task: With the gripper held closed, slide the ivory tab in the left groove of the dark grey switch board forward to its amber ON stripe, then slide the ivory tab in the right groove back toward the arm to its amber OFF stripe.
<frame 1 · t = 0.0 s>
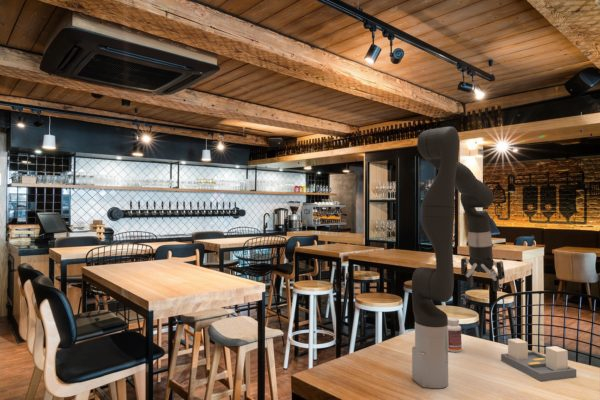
hand: (483, 288, 140), 22 cm above the table, tool pointing down, fingers open, 8 cm apart
switch board: (536, 368, 125), on the table
tab left: (517, 349, 129), point 5 cm above the table, slide at 0.0 cm
tab right: (556, 358, 121), point 5 cm above the table, slide at 0.0 cm
pill bottle: (452, 350, 142), on the table
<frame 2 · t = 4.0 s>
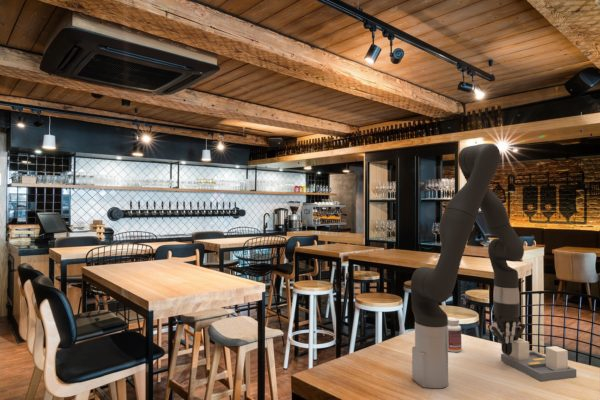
hand: (506, 353, 128), 4 cm above the table, tool pointing down, fingers closed
tab left: (519, 349, 129), point 4 cm above the table, slide at 0.6 cm, touching gripper
everything else where it was.
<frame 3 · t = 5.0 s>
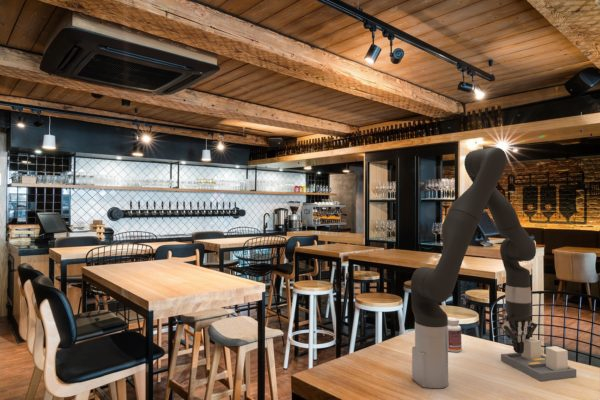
hand: (518, 352, 129), 4 cm above the table, tool pointing down, fingers closed
tab left: (530, 348, 130), point 4 cm above the table, slide at 5.2 cm, touching gripper
everything else where it was.
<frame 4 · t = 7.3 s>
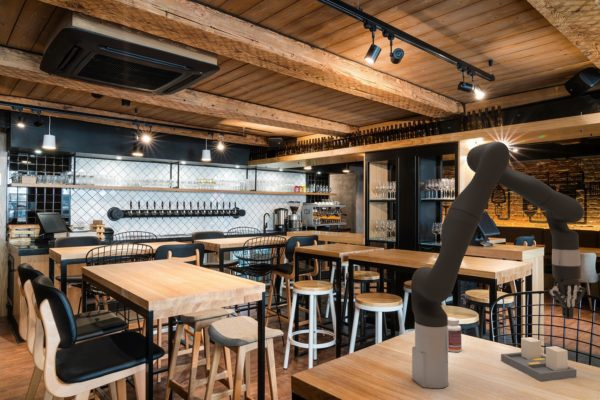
hand: (568, 318, 124), 16 cm above the table, tool pointing down, fingers closed
tab left: (531, 348, 130), point 5 cm above the table, slide at 5.2 cm
everything else where it was.
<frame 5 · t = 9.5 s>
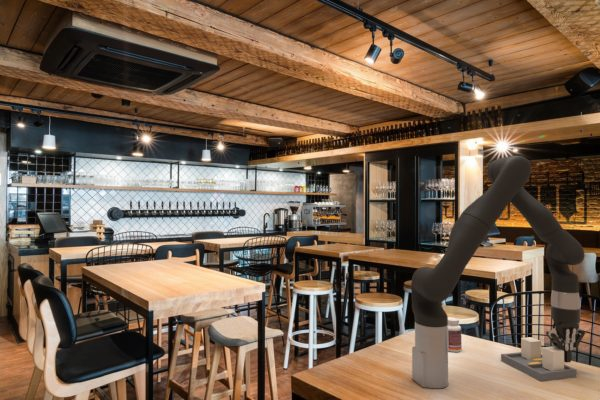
hand: (566, 361, 122), 3 cm above the table, tool pointing down, fingers closed
tab right: (553, 358, 121), point 5 cm above the table, slide at 1.3 cm, touching gripper
everything else where it was.
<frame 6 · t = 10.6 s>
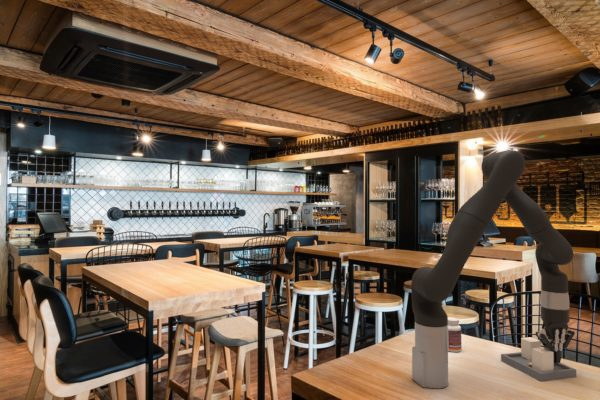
hand: (555, 361, 121), 3 cm above the table, tool pointing down, fingers closed
tab right: (542, 360, 120), point 5 cm above the table, slide at 5.2 cm, touching gripper
everything else where it was.
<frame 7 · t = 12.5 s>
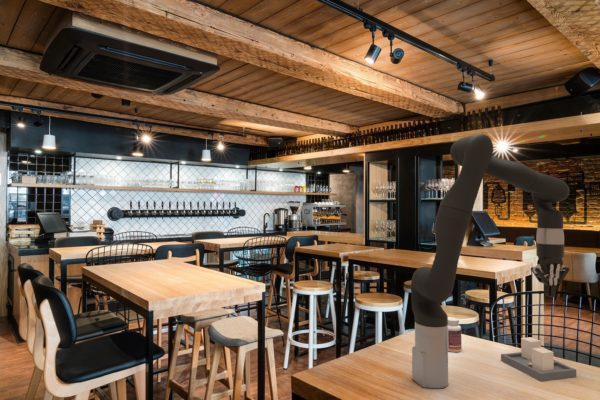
hand: (550, 296, 126), 23 cm above the table, tool pointing down, fingers closed
tab right: (542, 360, 120), point 4 cm above the table, slide at 5.2 cm
everything else where it was.
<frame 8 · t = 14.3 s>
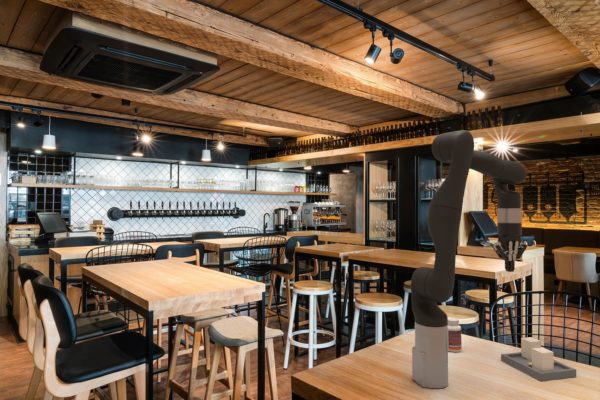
hand: (509, 271, 136), 29 cm above the table, tool pointing down, fingers closed
nothing on the table moved.
at the end: tab left slide at 5.2 cm; tab right slide at 5.2 cm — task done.
